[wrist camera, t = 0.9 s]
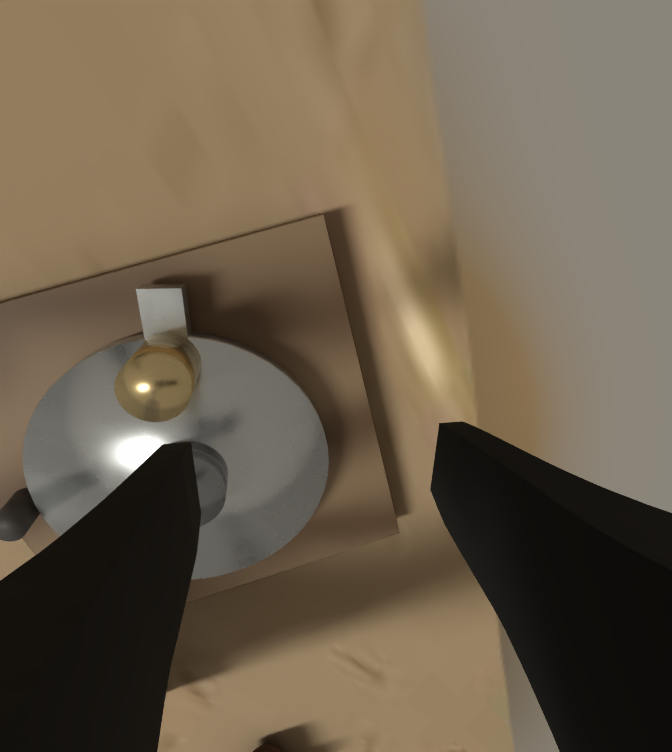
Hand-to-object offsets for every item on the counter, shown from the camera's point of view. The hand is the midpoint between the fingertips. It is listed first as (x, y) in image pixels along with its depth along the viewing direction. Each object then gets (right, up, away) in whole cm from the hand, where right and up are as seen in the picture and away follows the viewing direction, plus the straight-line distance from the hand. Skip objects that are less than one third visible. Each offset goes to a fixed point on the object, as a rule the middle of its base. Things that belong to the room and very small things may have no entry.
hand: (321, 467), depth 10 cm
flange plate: (-7, -2, +9) cm, 12 cm away
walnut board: (-7, -1, +11) cm, 13 cm away
